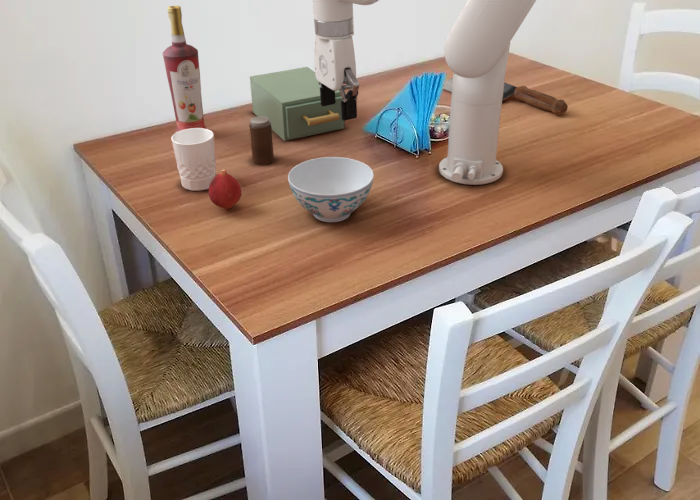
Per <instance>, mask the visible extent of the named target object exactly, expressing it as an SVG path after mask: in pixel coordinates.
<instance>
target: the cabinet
mask: <svg viewBox="0 0 700 500" xmlns="http://www.w3.org/2000/svg"><path fill="white" fill-rule="evenodd" d="M249 84H250V94H251V106H252V113H254V114H255V115H256V117H257V116H265V117H268V118H269V122H270V123H271V129H272V132H274V133H275V134H276V135H277V136H278V137H280V138H281V139H282V141H284V142H285V141H291V140H296V139H300V138H304V137H305V138H306V137H309V136H310V137H311V136H314V135H319V134H325V133H329V132H333V131H338V130H342V129H345V126H344V127H340V128H335V129H331V130H326V131H321V132H316V133H312V134H307V135H302V136H297V137H293V138H288V137H287V130H286V115H285V107H286V106H288V105H294V104H299V103H304V102H309V101H315V100H320V86H319V81H318V80H317V79H316V76H315V70H312V69H311V68H310V67H308V66H303V67H298V68H292V69H286V70H281V71H280V70H279V71H275V72H269V73H263V74H257V75H251V76H249ZM338 96H341V94H340V91H339V89H338V90H337V91H335V97H338Z"/></svg>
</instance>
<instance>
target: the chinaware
mask: <svg viewBox="0 0 700 500" xmlns="http://www.w3.org/2000/svg"><path fill="white" fill-rule="evenodd" d="M374 177H375V174H374V171H373V169H372V167H370V166H369V165H368V164H366V163H364V162H362V161H360V160H358V159H354V158H349V157H342V156H324V157H317V158H312V159H308V160H305V161H302V162H300V163H298V164H296V165H295V166H294V167H293V168H291V169H290V170H289V172H288V175H287V180H288V184H289V187H290V190H291V193H292V195H293V196H294V198H295V199H296V201H297V202H298V203H299V204H300V206H301V207H302V208H304V209H305V210H306V211H308V212H309V213H311V214H313V216H314V218H315V219H317V220H319V221H321V222H325V223H338V222H342V221H344V220H347V219H348V218H349V217H350V216H351V213H353V212H355V211H356V210H357V209H358V208H359V207H361V205H363V204H364V203H365V201H366V199H367V198H368V196H369V194H370V192H371V189H372V187H373V183H374Z"/></svg>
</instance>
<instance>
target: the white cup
mask: <svg viewBox="0 0 700 500" xmlns="http://www.w3.org/2000/svg"><path fill="white" fill-rule="evenodd" d="M170 138H171V145H172V149H173V154H174V158H175V163H176V167H177V171H178V173H179V178H180V183H181V186H182V187H183V188H184V189H185V190H188V191H193V192H196V191H197V192H199V191H204V190H209V185H210V183H211V181H212V180H213V178H214V177H215V176H216V175H217V165H216V164H217V159H216V148H215V147H216V146H215V134H214V132H213V131H212V130H211V129H208V128H207V129H204V128H190V129H184V130H181V131H178V132H176V131H175V133H173V134H172V135H171V137H170Z"/></svg>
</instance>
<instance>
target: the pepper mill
mask: <svg viewBox="0 0 700 500" xmlns="http://www.w3.org/2000/svg"><path fill="white" fill-rule="evenodd" d="M249 121H250V122H249V124H248V125H249V136H250V147H251V156H252V157H251V158H252V162H253V164H255V165H260V166H263V165H269V164H271V163H273V162H274V160H275V157H274V156H275V155H274V143H273V130H272V129H271V123H270V122H269V118H268V117H265V116H257V115H256V116H253V117H251V118H250V120H249Z"/></svg>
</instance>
